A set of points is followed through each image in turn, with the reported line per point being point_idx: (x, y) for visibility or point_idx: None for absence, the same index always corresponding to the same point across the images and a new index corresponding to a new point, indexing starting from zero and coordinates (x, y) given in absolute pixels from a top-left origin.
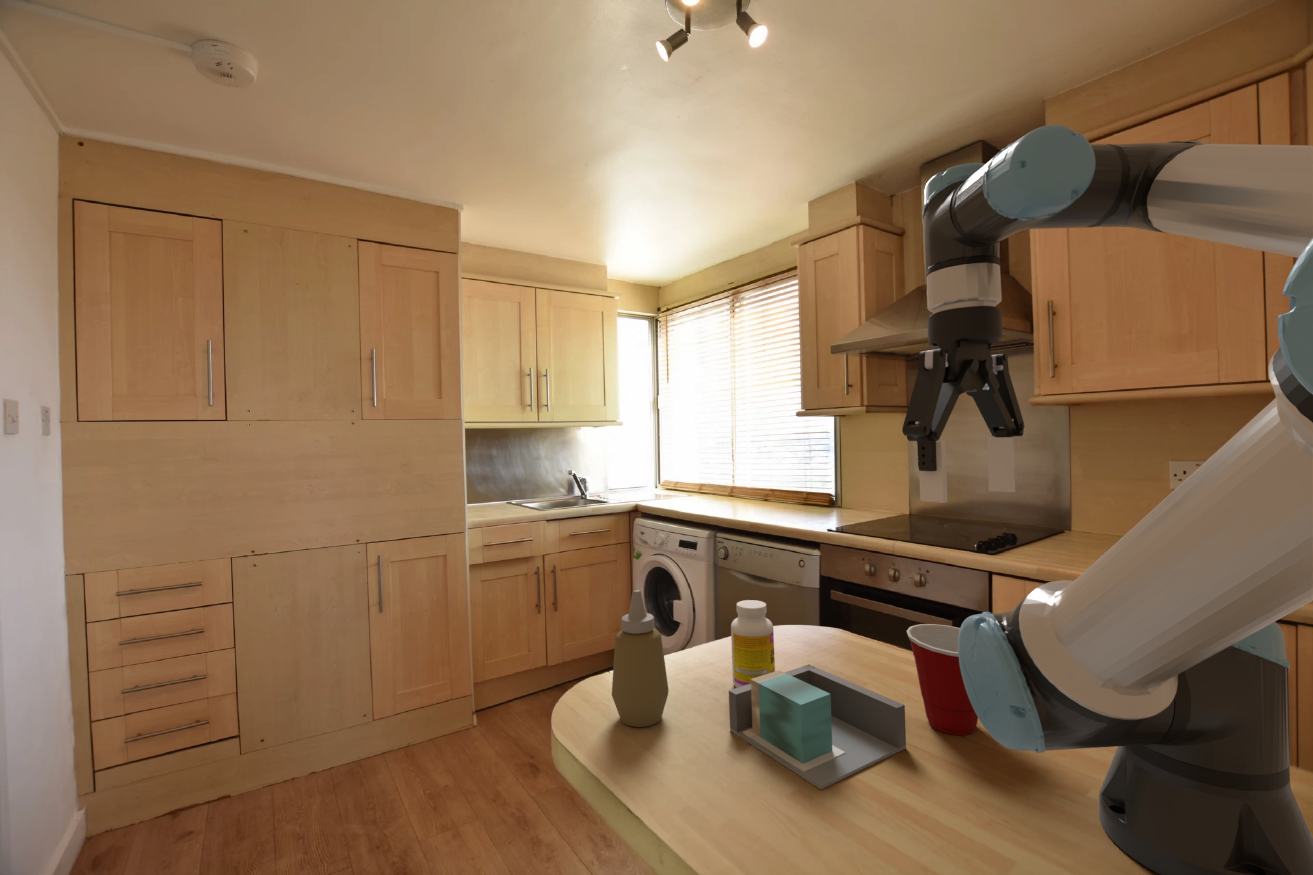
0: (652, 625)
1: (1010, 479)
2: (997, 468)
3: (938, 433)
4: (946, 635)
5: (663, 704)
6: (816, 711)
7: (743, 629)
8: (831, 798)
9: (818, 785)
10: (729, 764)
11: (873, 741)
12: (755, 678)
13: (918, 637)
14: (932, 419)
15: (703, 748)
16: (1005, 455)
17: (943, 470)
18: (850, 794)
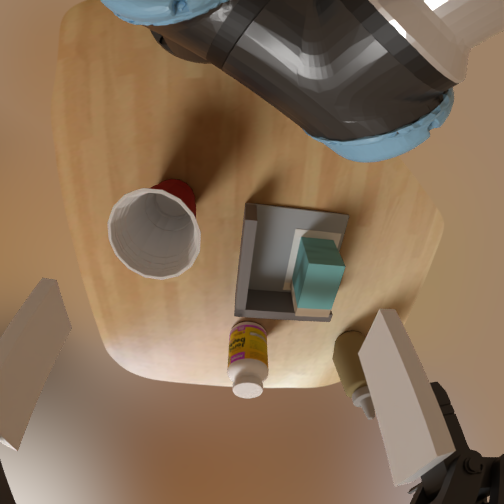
0: (362, 390)
1: (41, 306)
2: (38, 357)
3: (475, 468)
4: (126, 251)
5: (348, 339)
6: (325, 258)
7: (266, 371)
8: (352, 204)
9: (348, 217)
10: (361, 272)
11: (261, 223)
12: (324, 316)
13: (158, 266)
14: (500, 500)
15: (355, 294)
16: (12, 371)
17: (421, 374)
18: (339, 197)
